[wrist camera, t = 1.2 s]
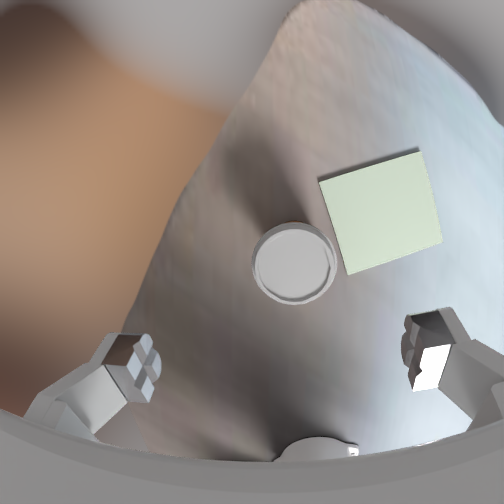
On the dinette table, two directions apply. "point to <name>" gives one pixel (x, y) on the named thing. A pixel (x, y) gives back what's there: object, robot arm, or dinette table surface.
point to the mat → (382, 212)
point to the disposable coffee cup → (294, 263)
